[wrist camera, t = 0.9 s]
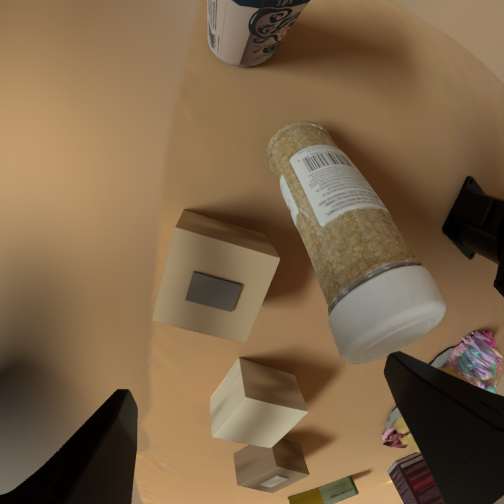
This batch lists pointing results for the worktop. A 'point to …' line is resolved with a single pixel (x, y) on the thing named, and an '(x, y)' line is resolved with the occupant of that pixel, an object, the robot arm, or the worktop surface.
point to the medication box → (327, 493)
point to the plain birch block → (256, 405)
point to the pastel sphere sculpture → (461, 366)
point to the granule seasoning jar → (353, 247)
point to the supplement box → (414, 481)
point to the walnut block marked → (270, 466)
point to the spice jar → (249, 28)
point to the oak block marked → (215, 277)
